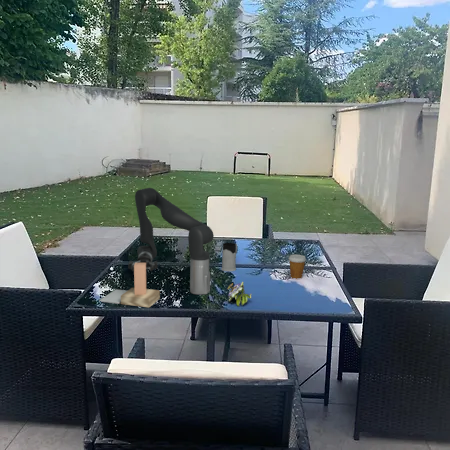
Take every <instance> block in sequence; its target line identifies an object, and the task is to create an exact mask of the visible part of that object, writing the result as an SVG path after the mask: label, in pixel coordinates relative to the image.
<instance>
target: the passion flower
mask: <svg viewBox="0 0 450 450" xmlns="http://www.w3.org/2000/svg"><path fill="white" fill-rule="evenodd" d="M244 283H245V282H244V281H242V282H239V283H236V284H234V282H232V283H231V284H229V285H228V287H227V288H226V290H229V289H230V290H229V291H228V295H227V297H228V298H229V299H228V302H232V300H233V299H234V298H235V300H236V306H237V307H240V304H241V306H243V305H245V304H246V303H247V302H248V299H252V293H246V292H245V285H244ZM233 285H234V286H233Z"/></svg>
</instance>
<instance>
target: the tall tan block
mask: <svg viewBox="0 0 450 450" xmlns="http://www.w3.org/2000/svg"><path fill="white" fill-rule="evenodd" d="M134 263H135V262H134ZM133 275H134V278H133V280H134V281H133V283H134V288H135V295H142V294H146V289H147V269H146V263H135V264H134V271H133Z"/></svg>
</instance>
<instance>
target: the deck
mask: <svg viewBox="0 0 450 450" xmlns="http://www.w3.org/2000/svg"><path fill="white" fill-rule="evenodd" d="M126 291H127V292H125V293H124V294H122V295H121V303H120V304H121V305H124V306H125V305H126V306H135V307H141V308H142V307H144V308H151V306H153V305H154V304H156V303H157V302H158V301H159V300H160V299H161V297H160V295H161V294H160V293H161V290H158V289H152V288H151V289H149V288H146V294H142V295H135V287H130V289H128V290H126Z"/></svg>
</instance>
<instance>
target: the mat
mask: <svg viewBox="0 0 450 450" xmlns="http://www.w3.org/2000/svg"><path fill="white" fill-rule="evenodd" d="M127 291H128V290H125V289H116V288H115V289H114V290H113V291H111V292H110V293H108V294H107V295H105V296H103V297H102V298H100V299H99V300H98V301H99V302H100V301H101V302H102V303H109V304H117V305H118V304H121V295H122V294H124V293H125V292H127Z"/></svg>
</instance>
